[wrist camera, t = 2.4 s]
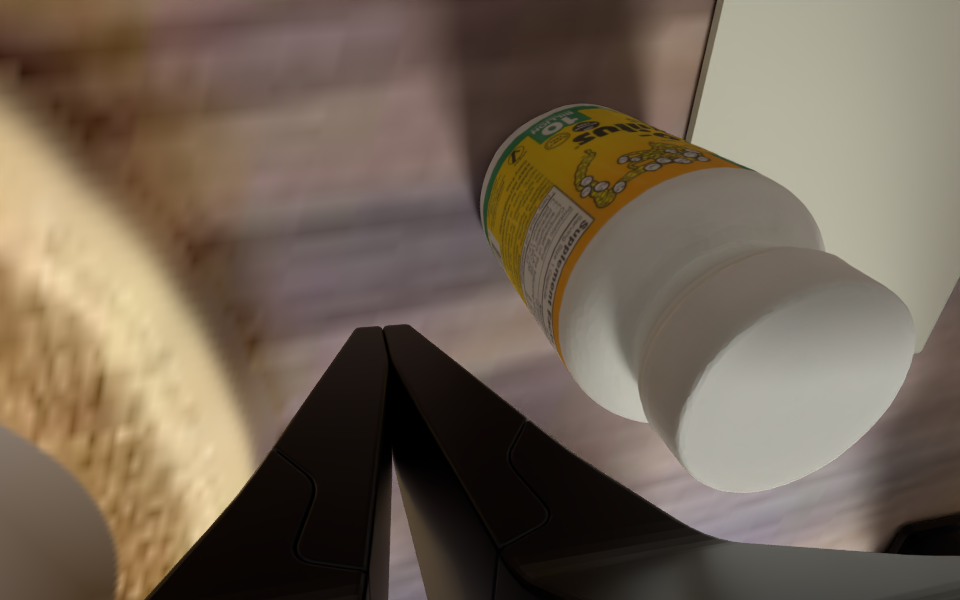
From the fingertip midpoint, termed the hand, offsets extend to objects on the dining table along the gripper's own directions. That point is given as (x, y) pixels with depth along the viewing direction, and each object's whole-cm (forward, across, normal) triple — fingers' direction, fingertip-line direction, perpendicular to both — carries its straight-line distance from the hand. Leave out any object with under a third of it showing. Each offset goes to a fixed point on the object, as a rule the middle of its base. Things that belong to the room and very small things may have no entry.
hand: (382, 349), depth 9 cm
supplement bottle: (+7, -6, 0) cm, 9 cm away
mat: (+7, -16, 0) cm, 17 cm away
